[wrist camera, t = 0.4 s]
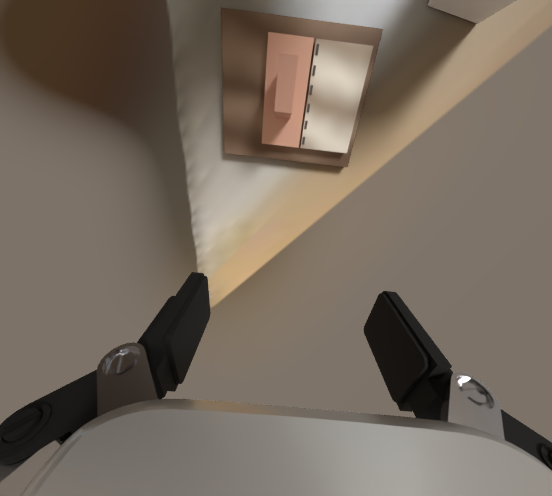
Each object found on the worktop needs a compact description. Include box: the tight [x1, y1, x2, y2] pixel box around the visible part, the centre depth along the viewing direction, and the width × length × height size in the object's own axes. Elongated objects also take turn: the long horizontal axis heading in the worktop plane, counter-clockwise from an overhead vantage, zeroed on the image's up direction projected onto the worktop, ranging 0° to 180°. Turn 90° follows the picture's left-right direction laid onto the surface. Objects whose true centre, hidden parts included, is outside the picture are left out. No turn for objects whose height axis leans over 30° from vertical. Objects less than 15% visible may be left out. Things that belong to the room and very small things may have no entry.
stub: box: [262, 32, 314, 148], centre depth 25 cm, size 12×6×7 cm, turn 174°
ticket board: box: [221, 8, 383, 167], centre depth 28 cm, size 16×20×3 cm
